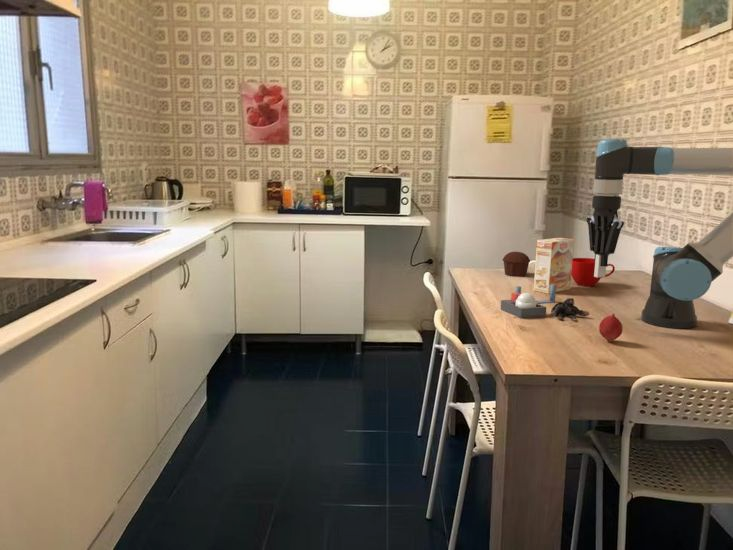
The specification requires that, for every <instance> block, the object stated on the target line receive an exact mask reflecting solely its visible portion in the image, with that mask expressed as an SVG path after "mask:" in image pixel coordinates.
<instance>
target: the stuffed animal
mask: <svg viewBox="0 0 733 550" xmlns="http://www.w3.org/2000/svg"><path fill="white" fill-rule="evenodd" d="M549 316H550V317H557V320H558V321H564V318H568V319H570V321H572V322H576V323H578V322H579V319H578V317H580V316H581V317H589V316H590V311H588V310H583V309H579V307H578V306H576V305H575V299H574V298H572V297H567V298H566V299H565V300H563V302H557V303H556V304H555V305H554V306H553V307H552V308H551V312H550V313H549Z"/></svg>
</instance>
